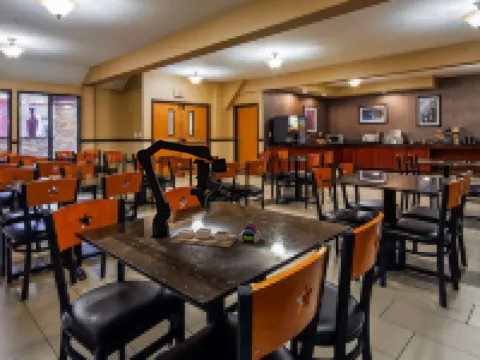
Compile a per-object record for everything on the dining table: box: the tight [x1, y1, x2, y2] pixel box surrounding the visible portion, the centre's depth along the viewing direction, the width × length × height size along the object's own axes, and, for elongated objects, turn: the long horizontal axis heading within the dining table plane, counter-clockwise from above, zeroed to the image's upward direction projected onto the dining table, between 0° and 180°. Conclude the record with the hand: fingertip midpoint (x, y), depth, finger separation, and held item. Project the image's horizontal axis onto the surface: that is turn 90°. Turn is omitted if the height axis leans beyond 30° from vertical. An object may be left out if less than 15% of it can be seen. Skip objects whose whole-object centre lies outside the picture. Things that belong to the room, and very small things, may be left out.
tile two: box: [195, 227, 212, 240], centre depth 147 cm, size 5×5×3 cm
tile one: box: [177, 228, 195, 238], centre depth 149 cm, size 5×5×3 cm
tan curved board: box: [169, 231, 238, 248], centre depth 147 cm, size 26×12×2 cm, turn 77°
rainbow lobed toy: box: [238, 223, 262, 244], centre depth 147 cm, size 8×10×7 cm
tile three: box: [214, 230, 230, 241], centre depth 145 cm, size 5×5×3 cm
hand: (203, 208), depth 155 cm, fingers closed
